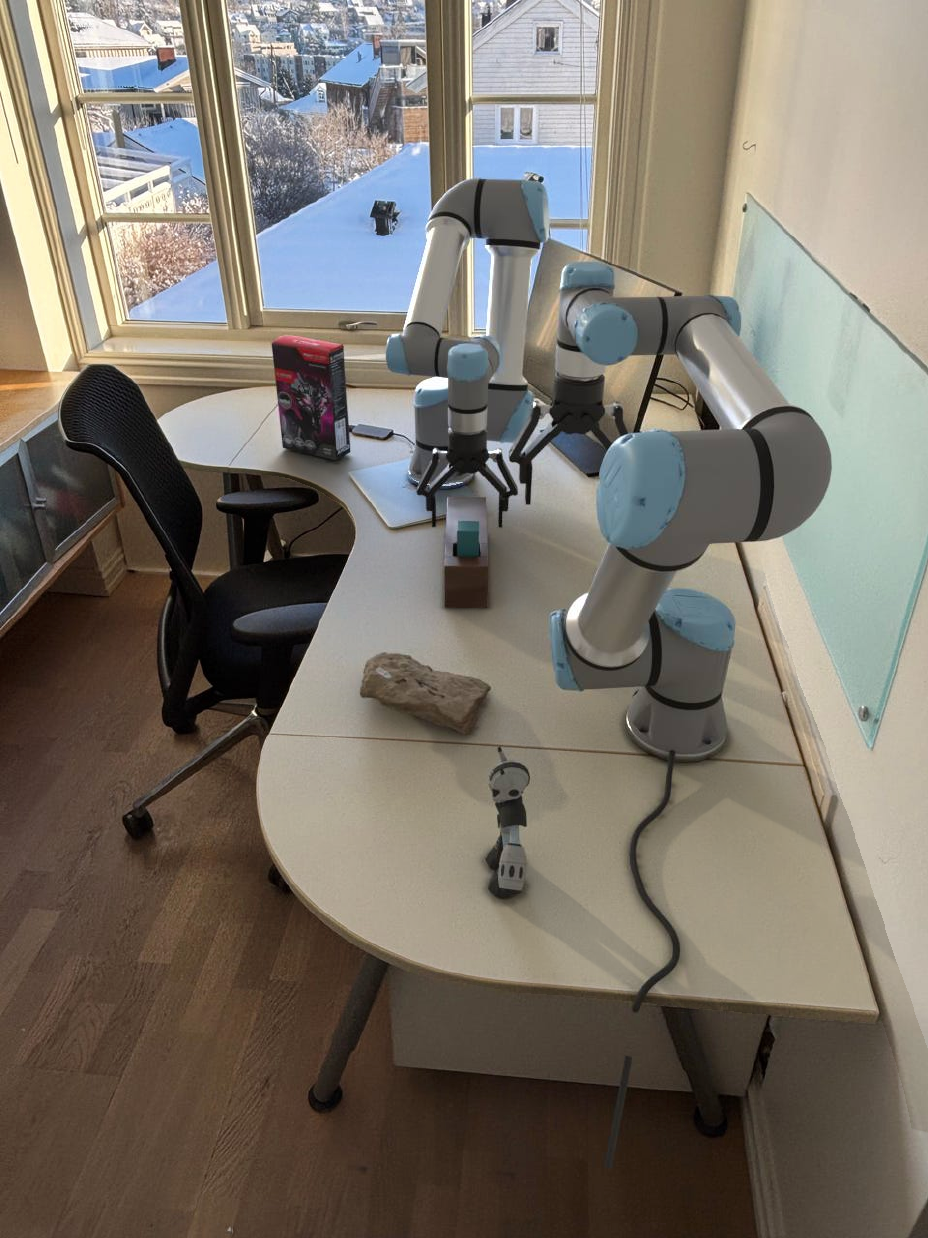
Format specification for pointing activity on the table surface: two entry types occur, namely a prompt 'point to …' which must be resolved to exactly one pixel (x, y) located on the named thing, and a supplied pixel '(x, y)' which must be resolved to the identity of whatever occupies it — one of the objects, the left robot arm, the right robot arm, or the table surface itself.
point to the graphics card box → (312, 396)
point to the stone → (424, 691)
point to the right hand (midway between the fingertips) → (569, 501)
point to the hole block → (466, 573)
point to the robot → (508, 827)
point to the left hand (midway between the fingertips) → (467, 524)
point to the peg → (467, 538)
